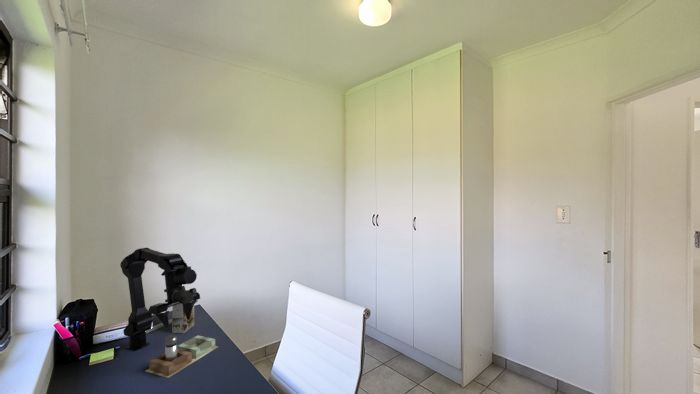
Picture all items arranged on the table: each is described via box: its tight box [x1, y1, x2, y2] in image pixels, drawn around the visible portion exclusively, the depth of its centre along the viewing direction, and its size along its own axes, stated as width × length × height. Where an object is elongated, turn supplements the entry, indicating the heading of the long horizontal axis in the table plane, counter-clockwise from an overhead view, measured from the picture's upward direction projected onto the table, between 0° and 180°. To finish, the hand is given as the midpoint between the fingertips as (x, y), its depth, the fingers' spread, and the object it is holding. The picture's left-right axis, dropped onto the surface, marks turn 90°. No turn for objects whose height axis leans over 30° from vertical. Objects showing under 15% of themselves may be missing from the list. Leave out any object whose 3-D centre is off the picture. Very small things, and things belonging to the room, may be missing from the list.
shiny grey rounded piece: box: [164, 334, 178, 362], centre depth 115 cm, size 4×4×11 cm
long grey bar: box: [146, 318, 172, 334], centre depth 155 cm, size 25×6×2 cm, turn 152°
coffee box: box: [171, 303, 195, 334], centre depth 149 cm, size 9×6×16 cm
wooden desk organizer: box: [145, 335, 219, 379], centre depth 121 cm, size 12×24×4 cm, turn 160°
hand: (178, 323), depth 121 cm, fingers open, 9 cm apart
